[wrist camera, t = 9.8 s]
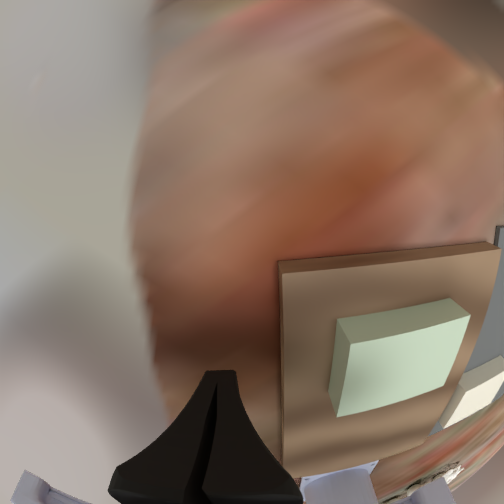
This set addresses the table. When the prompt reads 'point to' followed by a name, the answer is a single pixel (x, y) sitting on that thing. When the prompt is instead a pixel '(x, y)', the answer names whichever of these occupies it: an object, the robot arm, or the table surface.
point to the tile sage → (394, 354)
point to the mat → (490, 326)
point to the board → (355, 304)
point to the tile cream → (474, 391)
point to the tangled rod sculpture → (448, 477)
